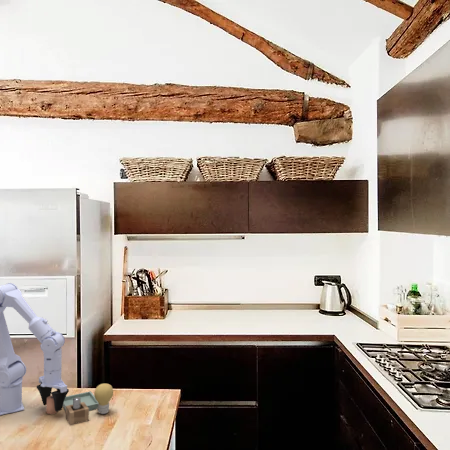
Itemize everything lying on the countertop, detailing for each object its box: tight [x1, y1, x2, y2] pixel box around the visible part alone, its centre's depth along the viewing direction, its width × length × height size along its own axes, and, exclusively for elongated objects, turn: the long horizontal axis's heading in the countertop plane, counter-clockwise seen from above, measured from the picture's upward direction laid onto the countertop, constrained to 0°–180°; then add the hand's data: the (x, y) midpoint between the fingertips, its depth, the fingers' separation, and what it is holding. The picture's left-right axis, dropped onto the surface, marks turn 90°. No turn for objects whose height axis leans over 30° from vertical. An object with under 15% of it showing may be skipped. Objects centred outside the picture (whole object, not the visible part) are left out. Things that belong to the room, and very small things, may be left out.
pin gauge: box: [73, 397, 81, 411], centre depth 140 cm, size 2×2×7 cm
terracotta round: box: [45, 395, 59, 415], centre depth 145 cm, size 4×4×5 cm
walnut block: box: [65, 402, 90, 426], centre depth 140 cm, size 6×6×4 cm
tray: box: [62, 390, 99, 412], centre depth 151 cm, size 12×11×2 cm
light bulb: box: [93, 383, 114, 415], centre depth 145 cm, size 6×6×10 cm
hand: (52, 407), depth 145 cm, fingers open, 7 cm apart
